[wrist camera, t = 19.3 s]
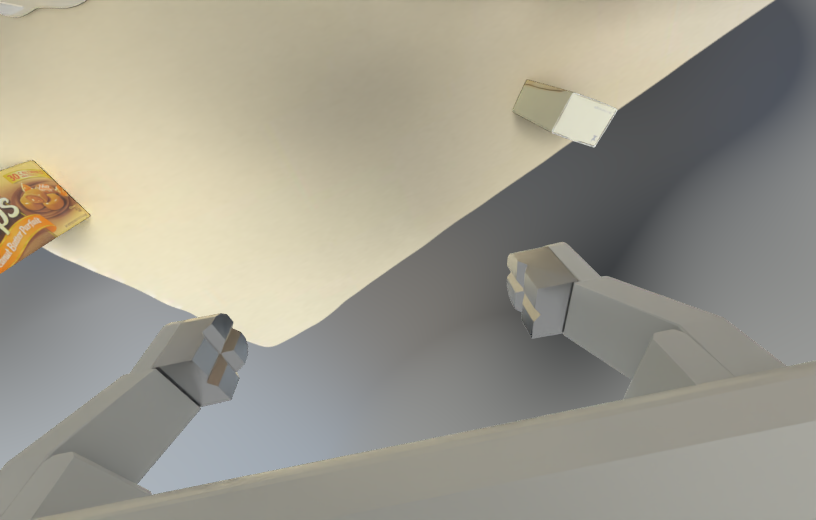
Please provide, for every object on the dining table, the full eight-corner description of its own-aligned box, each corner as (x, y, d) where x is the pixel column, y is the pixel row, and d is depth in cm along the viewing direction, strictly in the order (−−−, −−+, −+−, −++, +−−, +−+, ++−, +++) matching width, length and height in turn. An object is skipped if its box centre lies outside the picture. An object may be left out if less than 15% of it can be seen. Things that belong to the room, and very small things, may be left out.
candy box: (6, 168, 40) (-152, 224, 28) (33, 158, 40) (-114, 210, 28) (69, 223, 46) (-41, 291, 33) (93, 215, 45) (-9, 280, 33)
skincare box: (562, 93, 43) (621, 108, 33) (545, 125, 45) (596, 148, 35) (524, 78, 41) (574, 89, 31) (509, 112, 44) (551, 133, 34)
